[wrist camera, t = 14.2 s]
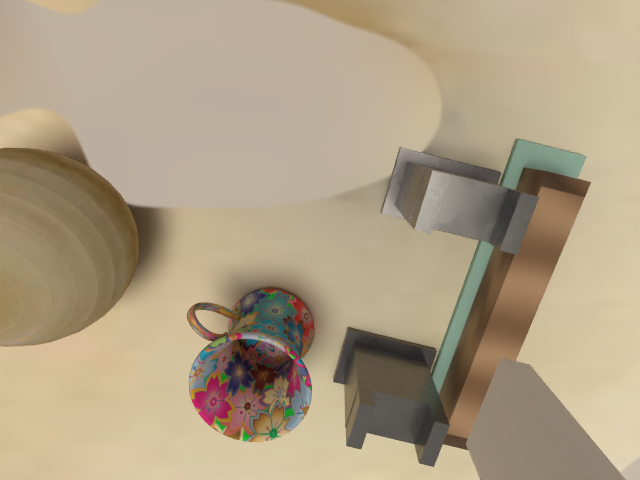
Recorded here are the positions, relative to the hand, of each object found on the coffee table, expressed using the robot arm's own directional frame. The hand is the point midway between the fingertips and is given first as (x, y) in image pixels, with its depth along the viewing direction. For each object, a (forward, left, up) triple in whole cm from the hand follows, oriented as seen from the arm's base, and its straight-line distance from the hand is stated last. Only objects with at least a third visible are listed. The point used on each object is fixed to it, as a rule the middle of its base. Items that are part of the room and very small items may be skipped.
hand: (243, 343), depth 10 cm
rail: (+6, +19, -26) cm, 33 cm away
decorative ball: (+8, -20, -27) cm, 34 cm away
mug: (+13, -2, -27) cm, 30 cm away
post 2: (-3, +11, -27) cm, 29 cm away
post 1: (+15, +11, -27) cm, 33 cm away
